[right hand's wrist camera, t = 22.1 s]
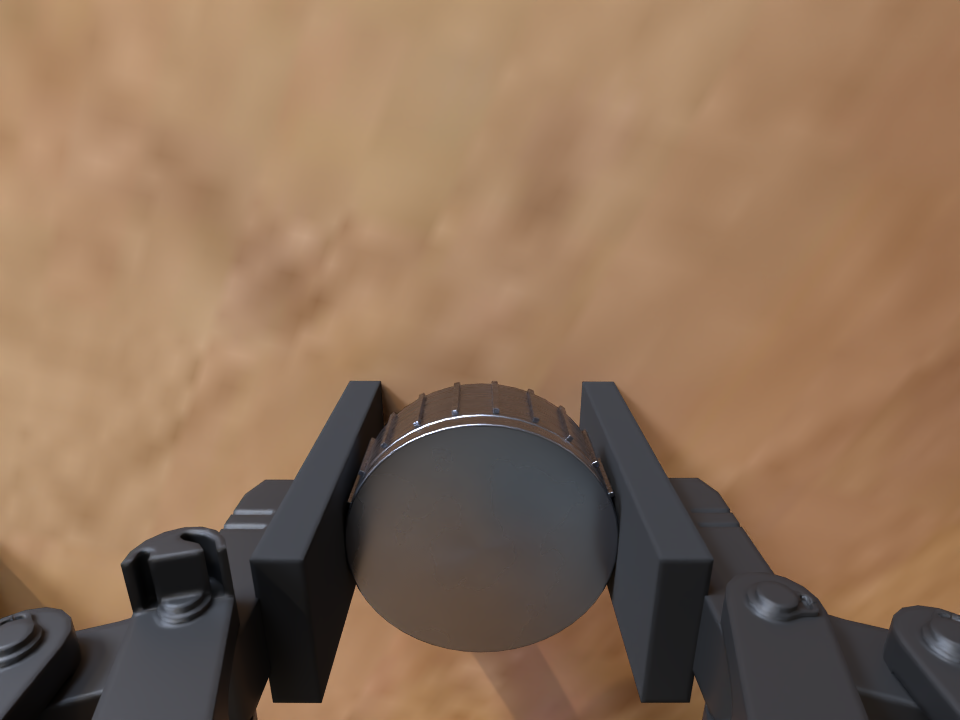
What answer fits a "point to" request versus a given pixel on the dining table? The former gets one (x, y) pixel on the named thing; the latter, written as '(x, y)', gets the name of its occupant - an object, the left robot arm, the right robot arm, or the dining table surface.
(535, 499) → the lid
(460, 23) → the dining table surface
